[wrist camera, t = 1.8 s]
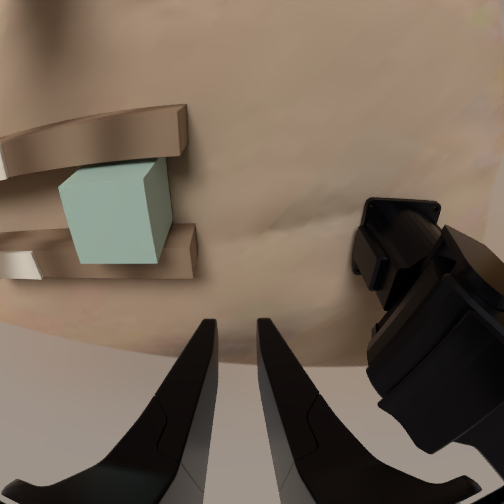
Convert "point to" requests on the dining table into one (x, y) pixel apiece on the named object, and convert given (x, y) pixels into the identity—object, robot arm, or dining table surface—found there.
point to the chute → (89, 152)
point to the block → (118, 211)
